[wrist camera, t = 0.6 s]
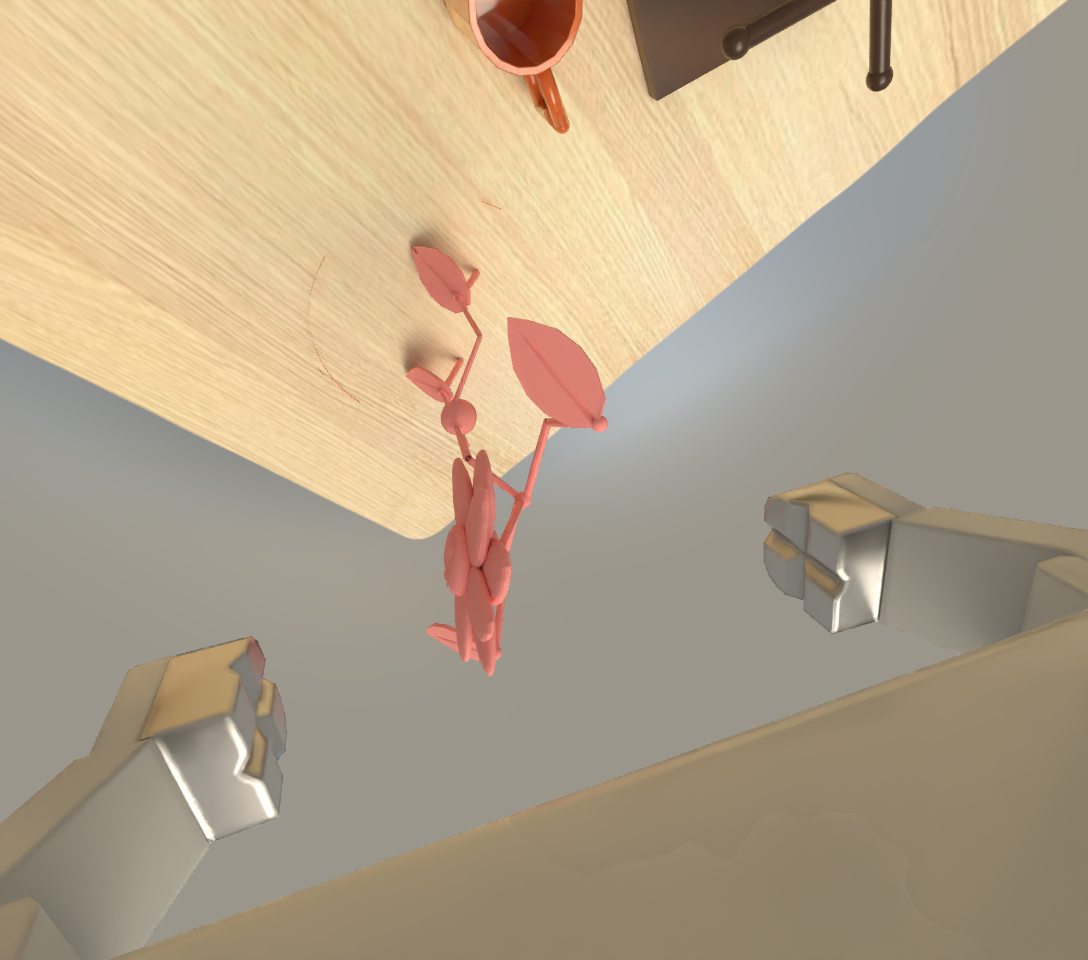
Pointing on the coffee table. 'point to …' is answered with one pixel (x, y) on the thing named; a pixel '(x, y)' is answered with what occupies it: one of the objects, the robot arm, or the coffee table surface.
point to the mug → (524, 42)
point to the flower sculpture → (472, 544)
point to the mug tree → (732, 36)
